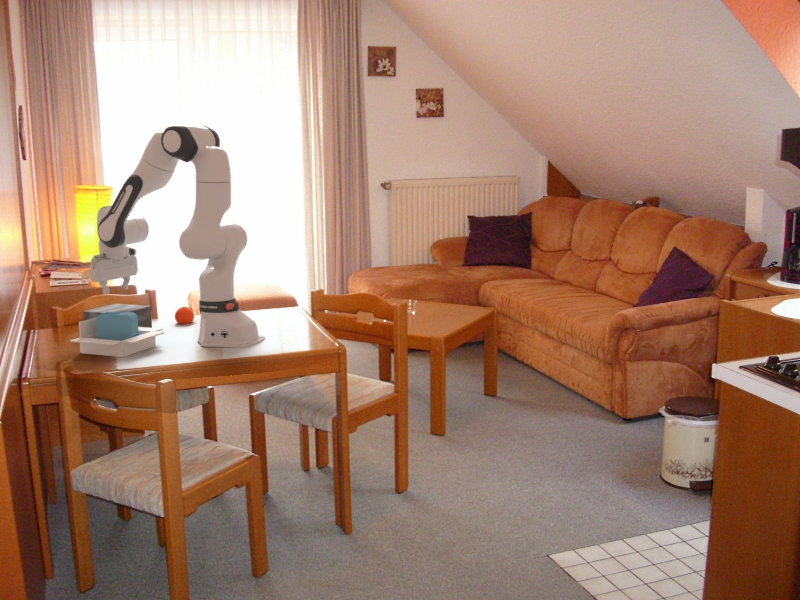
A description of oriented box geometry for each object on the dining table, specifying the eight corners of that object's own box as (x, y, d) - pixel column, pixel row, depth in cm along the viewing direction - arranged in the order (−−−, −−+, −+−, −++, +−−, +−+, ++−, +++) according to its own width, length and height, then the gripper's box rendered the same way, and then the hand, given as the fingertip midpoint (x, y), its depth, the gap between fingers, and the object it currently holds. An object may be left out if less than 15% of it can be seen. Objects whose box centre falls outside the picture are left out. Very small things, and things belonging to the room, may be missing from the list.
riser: (152, 330, 285) (150, 305, 283) (121, 339, 270) (119, 313, 269) (116, 327, 291) (114, 303, 289) (84, 336, 276) (82, 311, 274)
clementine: (186, 322, 299) (185, 303, 297) (200, 323, 295) (199, 305, 294) (171, 326, 292) (170, 307, 290) (185, 327, 288) (184, 308, 287)
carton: (173, 344, 262) (171, 314, 261) (124, 361, 241) (122, 329, 239) (123, 339, 270) (120, 311, 268) (71, 356, 248) (68, 324, 246)
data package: (140, 348, 257) (137, 312, 255) (133, 351, 253) (130, 315, 251) (105, 347, 259) (102, 311, 257) (98, 351, 254) (95, 314, 252)
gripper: (98, 255, 265) (102, 296, 267) (139, 249, 284) (142, 287, 286) (83, 255, 267) (87, 295, 269) (125, 248, 286) (128, 286, 288)
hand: (115, 291), depth 278 cm, fingers open, 8 cm apart
